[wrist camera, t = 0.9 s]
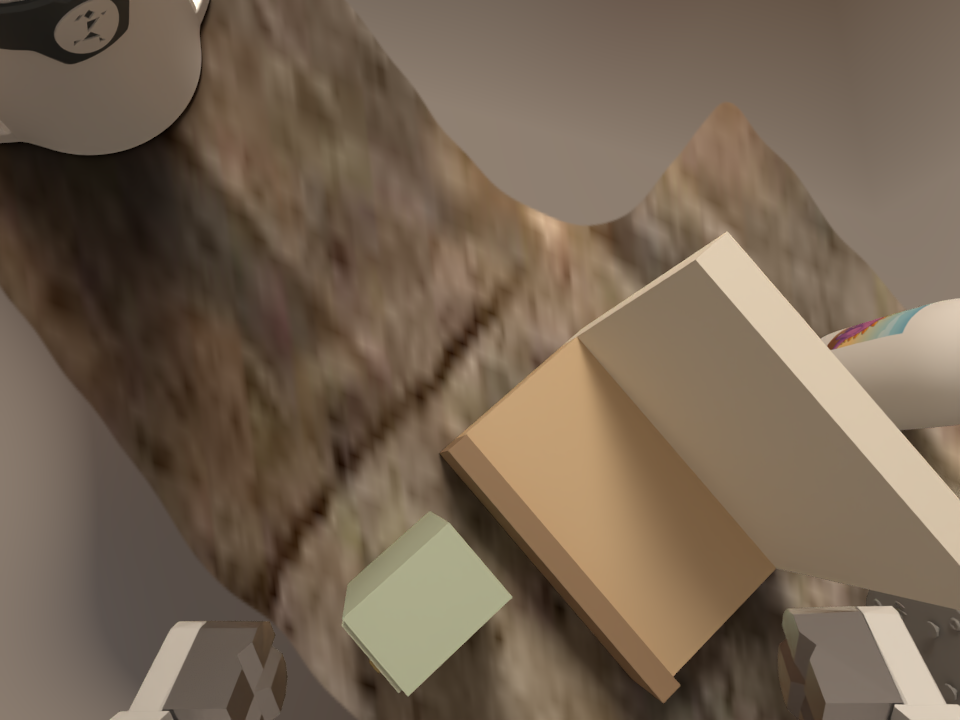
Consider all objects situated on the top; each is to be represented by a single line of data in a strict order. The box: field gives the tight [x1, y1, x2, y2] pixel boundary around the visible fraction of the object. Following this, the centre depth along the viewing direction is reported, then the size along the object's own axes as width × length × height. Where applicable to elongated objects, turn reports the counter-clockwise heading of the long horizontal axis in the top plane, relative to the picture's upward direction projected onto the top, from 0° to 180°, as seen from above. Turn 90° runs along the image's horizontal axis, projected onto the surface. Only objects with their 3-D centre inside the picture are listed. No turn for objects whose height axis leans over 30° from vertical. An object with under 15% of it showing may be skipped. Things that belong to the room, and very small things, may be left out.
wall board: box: [440, 232, 960, 703], centre depth 41 cm, size 20×14×22 cm
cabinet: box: [342, 511, 512, 696], centre depth 43 cm, size 5×8×12 cm, turn 131°
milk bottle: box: [821, 298, 960, 430], centre depth 46 cm, size 8×8×20 cm
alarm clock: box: [866, 590, 960, 706], centre depth 46 cm, size 12×7×15 cm, turn 13°
